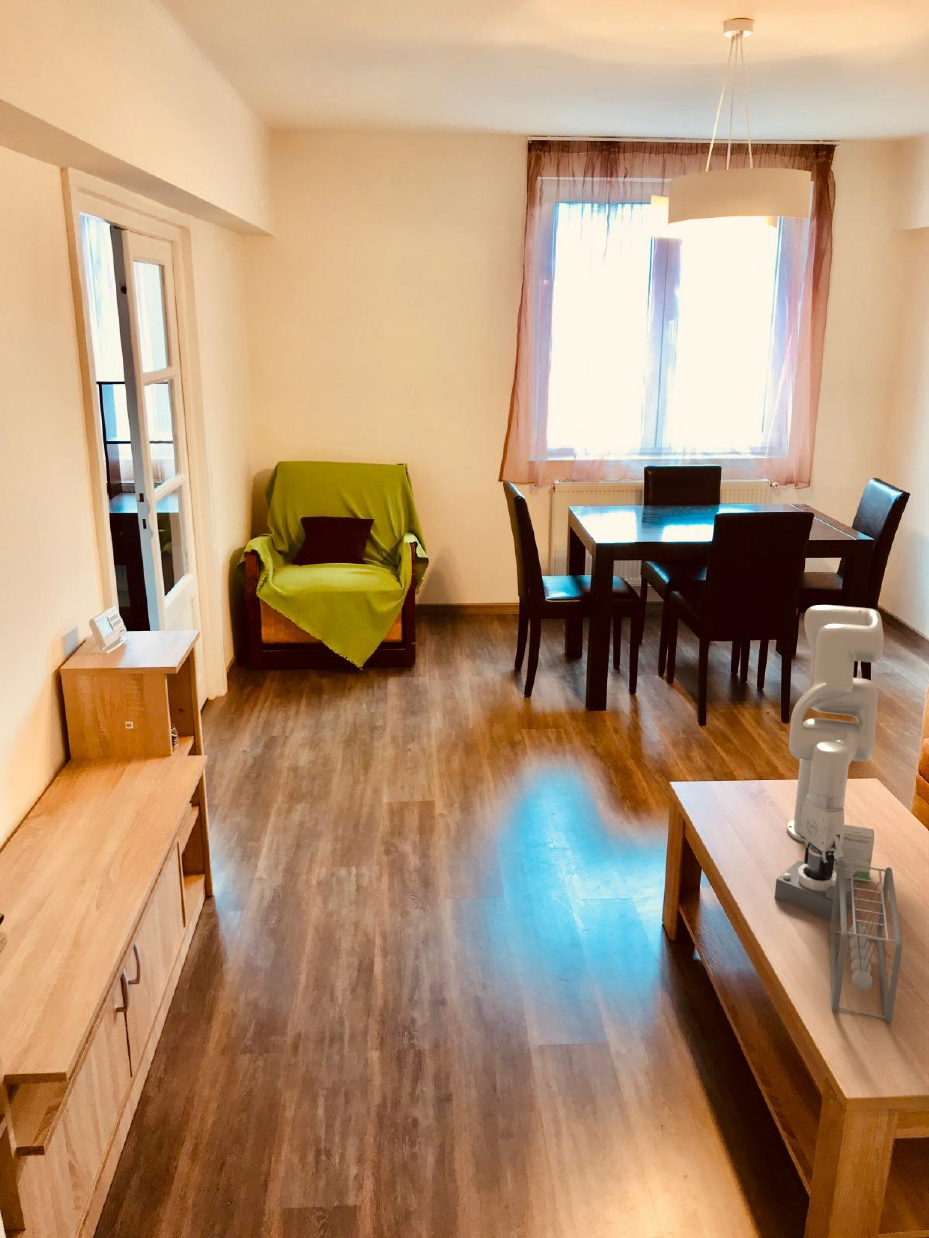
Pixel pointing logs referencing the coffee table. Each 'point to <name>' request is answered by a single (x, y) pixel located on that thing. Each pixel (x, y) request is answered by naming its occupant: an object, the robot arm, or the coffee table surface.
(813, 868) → the lens
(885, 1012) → the newton's cradle
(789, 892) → the camera body
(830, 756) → the robot arm
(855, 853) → the ink box
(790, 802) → the coffee table surface
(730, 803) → the coffee table surface
